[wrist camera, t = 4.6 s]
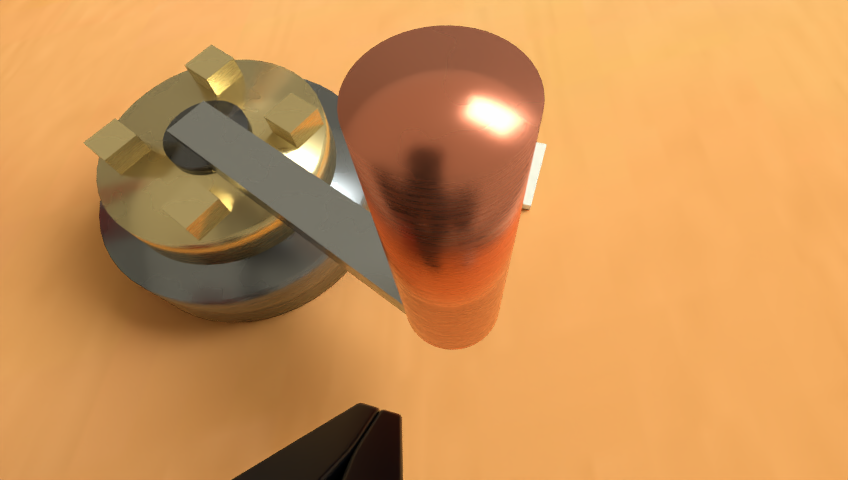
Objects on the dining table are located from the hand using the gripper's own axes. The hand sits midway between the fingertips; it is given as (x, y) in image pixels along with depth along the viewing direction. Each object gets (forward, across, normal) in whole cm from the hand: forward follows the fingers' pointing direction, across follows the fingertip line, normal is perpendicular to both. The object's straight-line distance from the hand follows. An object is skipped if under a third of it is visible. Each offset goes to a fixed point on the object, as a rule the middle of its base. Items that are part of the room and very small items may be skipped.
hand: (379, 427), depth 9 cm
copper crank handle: (+11, +7, 0) cm, 13 cm away
